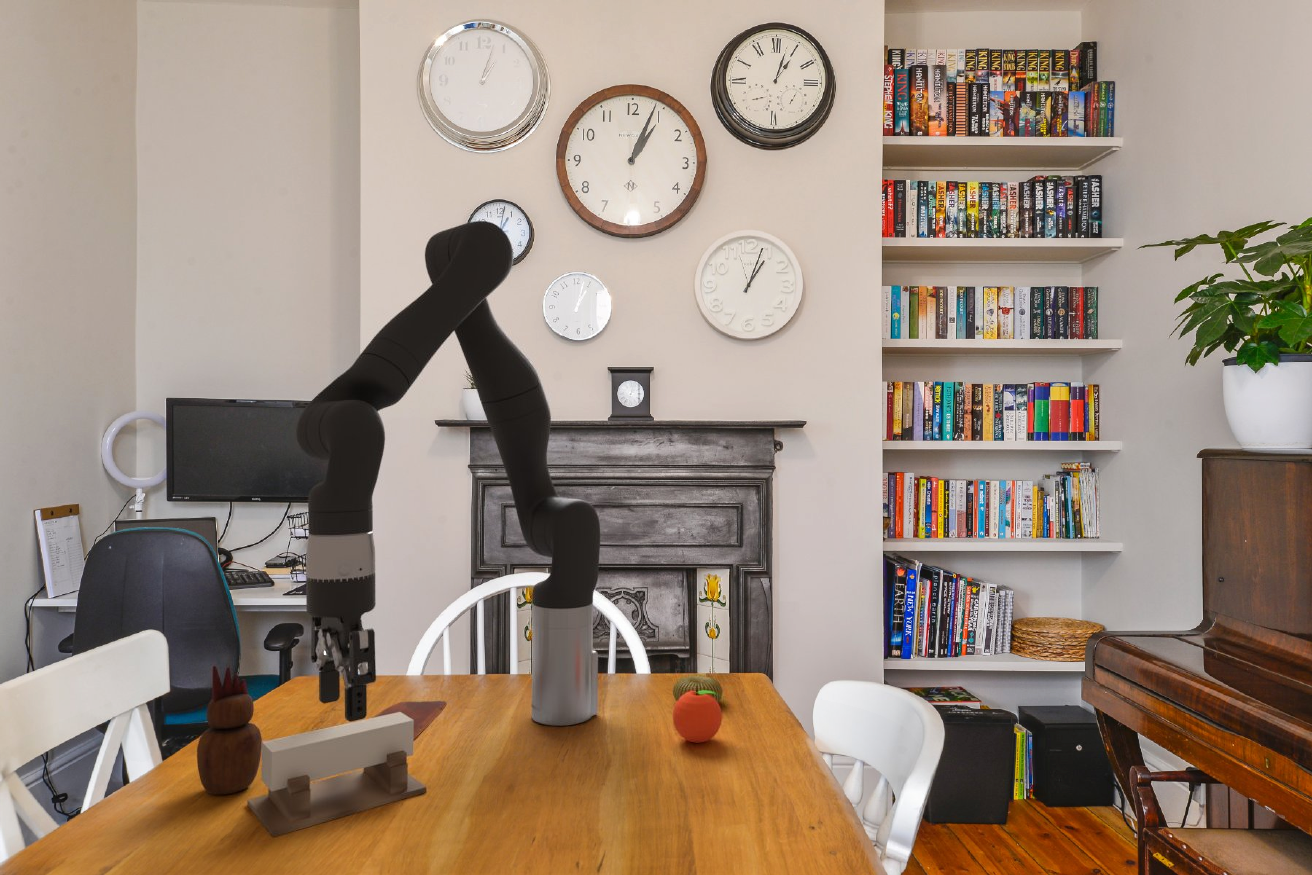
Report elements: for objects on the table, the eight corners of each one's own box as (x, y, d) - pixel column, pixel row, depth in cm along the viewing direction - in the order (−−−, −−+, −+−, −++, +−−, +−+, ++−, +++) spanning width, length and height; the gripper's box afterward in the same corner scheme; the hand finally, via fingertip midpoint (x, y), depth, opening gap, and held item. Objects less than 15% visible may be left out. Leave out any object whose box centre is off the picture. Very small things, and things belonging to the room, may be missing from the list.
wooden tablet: (385, 772, 102) (385, 758, 102) (310, 768, 102) (310, 755, 103) (456, 705, 128) (456, 695, 128) (396, 703, 129) (396, 693, 129)
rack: (392, 766, 102) (392, 728, 102) (426, 791, 94) (426, 751, 94) (247, 804, 91) (247, 762, 91) (272, 836, 83) (273, 790, 83)
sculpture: (728, 675, 130) (714, 688, 123) (728, 699, 130) (714, 714, 123) (682, 670, 133) (666, 683, 126) (681, 694, 133) (665, 708, 125)
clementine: (714, 728, 116) (714, 679, 116) (737, 744, 110) (737, 693, 110) (664, 736, 113) (664, 686, 113) (685, 753, 107) (685, 700, 107)
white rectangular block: (399, 745, 99) (400, 711, 99) (413, 754, 96) (413, 719, 96) (261, 779, 89) (261, 741, 89) (271, 791, 86) (272, 752, 86)
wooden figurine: (195, 804, 91) (197, 672, 91) (197, 785, 96) (199, 660, 96) (261, 792, 94) (263, 665, 94) (260, 775, 99) (262, 654, 99)
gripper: (397, 574, 90) (398, 718, 90) (351, 561, 101) (351, 689, 100) (329, 583, 85) (330, 734, 85) (288, 567, 96) (289, 702, 96)
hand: (342, 710), depth 93 cm, fingers open, 8 cm apart
